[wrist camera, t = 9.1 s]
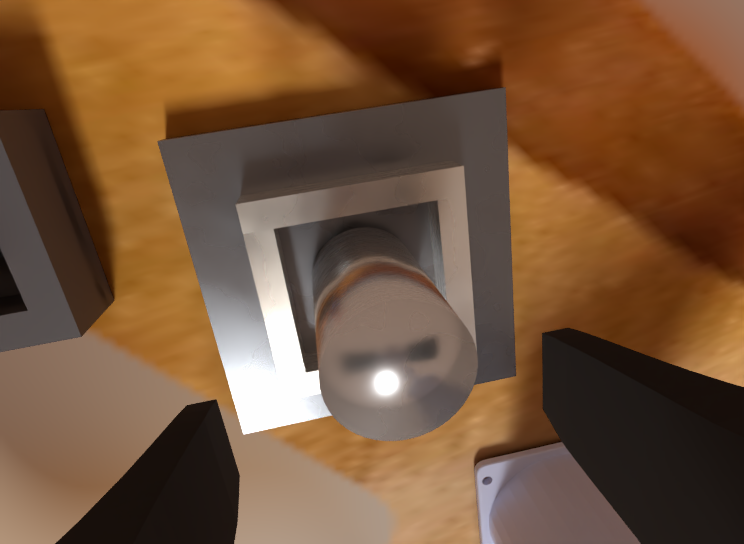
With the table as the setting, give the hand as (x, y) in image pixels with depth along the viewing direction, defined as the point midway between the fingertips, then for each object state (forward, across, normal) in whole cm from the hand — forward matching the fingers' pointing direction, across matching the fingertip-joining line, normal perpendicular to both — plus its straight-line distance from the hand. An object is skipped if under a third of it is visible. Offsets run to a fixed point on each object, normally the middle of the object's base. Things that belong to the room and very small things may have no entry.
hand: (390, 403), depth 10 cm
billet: (+8, 0, 0) cm, 8 cm away
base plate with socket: (+9, 0, 0) cm, 9 cm away
